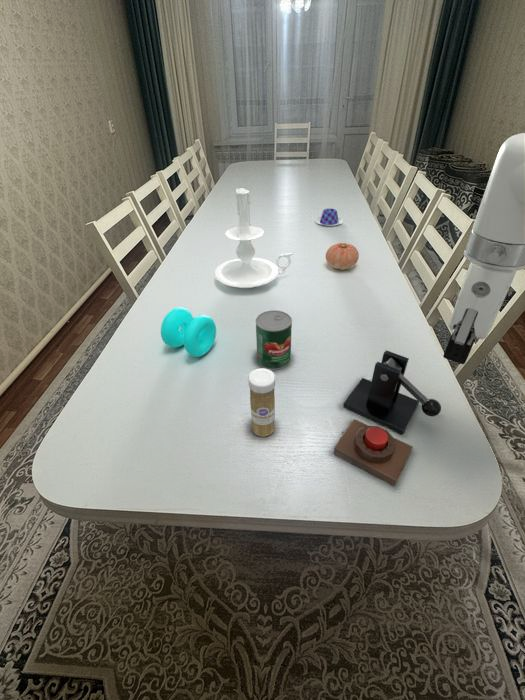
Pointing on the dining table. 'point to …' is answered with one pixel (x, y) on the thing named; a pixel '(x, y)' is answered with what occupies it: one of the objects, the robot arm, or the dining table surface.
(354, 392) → the bracket
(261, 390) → the sprinkles bottle
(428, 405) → the lever
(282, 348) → the canned tomato
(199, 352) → the turquoise yoyo
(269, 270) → the candlestick
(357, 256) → the orange round vegetable
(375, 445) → the button
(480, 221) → the robot arm
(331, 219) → the pudding
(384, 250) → the dining table surface
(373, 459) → the button block
